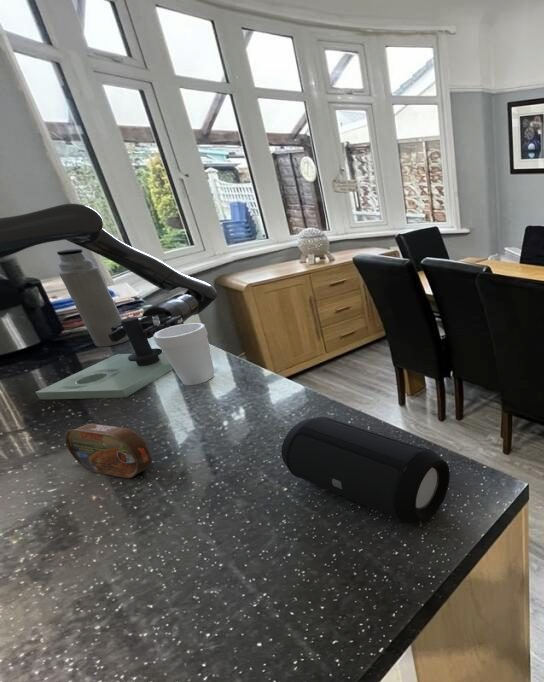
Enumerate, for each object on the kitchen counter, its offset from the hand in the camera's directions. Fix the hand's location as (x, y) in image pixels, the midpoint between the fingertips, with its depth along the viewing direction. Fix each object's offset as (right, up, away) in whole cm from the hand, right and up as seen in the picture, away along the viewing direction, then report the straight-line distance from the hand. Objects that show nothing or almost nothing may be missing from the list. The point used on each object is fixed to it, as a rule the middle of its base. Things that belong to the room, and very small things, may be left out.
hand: (129, 336), depth 96 cm
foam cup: (+17, -11, +1) cm, 20 cm away
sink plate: (-4, -10, +3) cm, 11 cm away
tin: (+27, -23, -29) cm, 46 cm away
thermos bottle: (-29, -1, +25) cm, 38 cm away
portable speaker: (+72, -24, -35) cm, 83 cm away
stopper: (0, -7, +6) cm, 9 cm away
